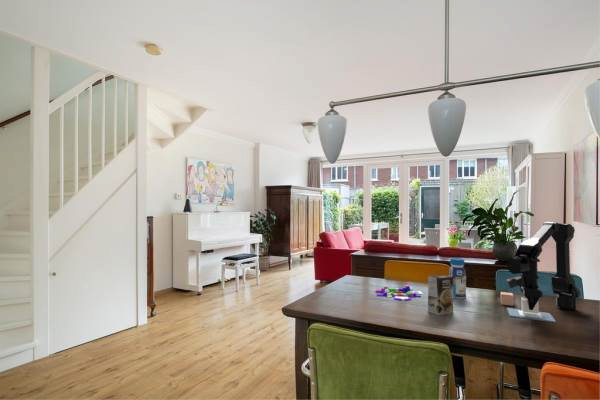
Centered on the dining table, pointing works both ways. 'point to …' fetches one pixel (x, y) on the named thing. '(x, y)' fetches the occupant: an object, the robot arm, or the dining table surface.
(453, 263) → the beverage bottle
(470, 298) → the dining table surface
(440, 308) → the coffee box
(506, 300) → the terracotta block
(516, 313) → the board
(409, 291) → the building block set
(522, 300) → the cream block
